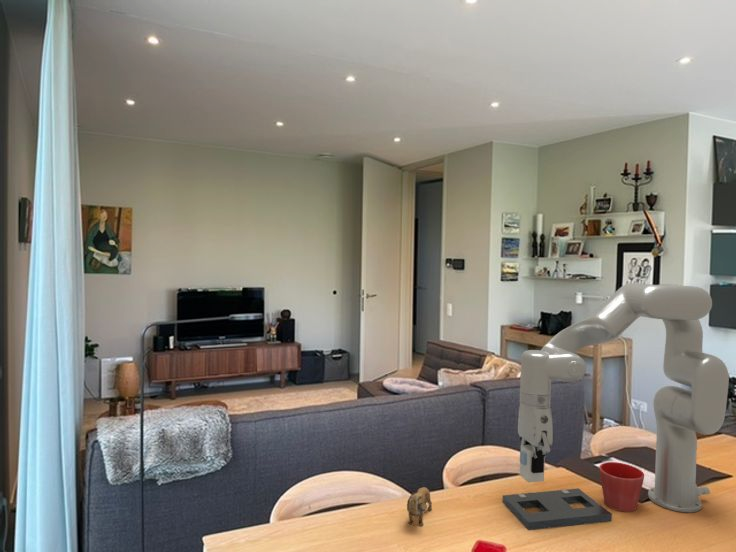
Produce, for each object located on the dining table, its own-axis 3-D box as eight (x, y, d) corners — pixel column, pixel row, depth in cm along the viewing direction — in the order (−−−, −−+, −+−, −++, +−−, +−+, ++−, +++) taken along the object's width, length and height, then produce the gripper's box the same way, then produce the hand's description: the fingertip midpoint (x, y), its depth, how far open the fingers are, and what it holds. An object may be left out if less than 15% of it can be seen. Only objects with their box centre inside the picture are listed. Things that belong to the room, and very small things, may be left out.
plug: (534, 474, 134) (536, 444, 133) (543, 481, 129) (545, 450, 129) (516, 475, 133) (518, 445, 132) (525, 482, 128) (526, 451, 128)
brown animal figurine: (426, 535, 121) (426, 498, 121) (404, 532, 122) (404, 496, 122) (433, 506, 135) (433, 473, 135) (413, 503, 137) (414, 470, 136)
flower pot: (649, 517, 130) (650, 480, 130) (603, 512, 133) (604, 476, 132) (636, 498, 141) (637, 463, 140) (594, 494, 143) (595, 460, 143)
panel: (578, 495, 142) (578, 487, 142) (611, 521, 128) (611, 512, 128) (502, 502, 137) (502, 494, 137) (528, 530, 124) (528, 521, 124)
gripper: (567, 408, 123) (563, 481, 123) (531, 389, 139) (528, 454, 140) (538, 409, 121) (535, 483, 122) (506, 390, 138) (503, 456, 138)
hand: (532, 467), depth 131 cm, fingers closed on plug, 4 cm apart
